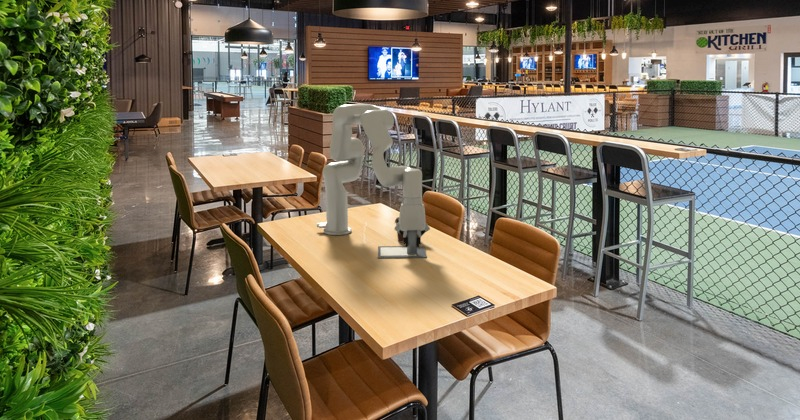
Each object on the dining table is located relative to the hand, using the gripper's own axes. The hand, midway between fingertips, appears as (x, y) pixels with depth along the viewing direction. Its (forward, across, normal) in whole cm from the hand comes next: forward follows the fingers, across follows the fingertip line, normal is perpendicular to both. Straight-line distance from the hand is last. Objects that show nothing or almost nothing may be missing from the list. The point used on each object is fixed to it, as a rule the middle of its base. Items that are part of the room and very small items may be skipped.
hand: (412, 245), depth 229 cm
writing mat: (+4, -4, +3) cm, 6 cm away
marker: (+3, 0, 0) cm, 3 cm away
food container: (+4, 0, +21) cm, 21 cm away
